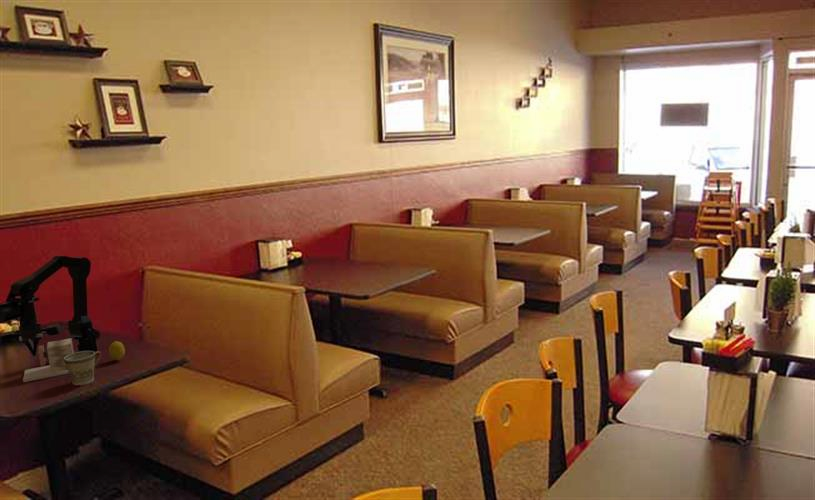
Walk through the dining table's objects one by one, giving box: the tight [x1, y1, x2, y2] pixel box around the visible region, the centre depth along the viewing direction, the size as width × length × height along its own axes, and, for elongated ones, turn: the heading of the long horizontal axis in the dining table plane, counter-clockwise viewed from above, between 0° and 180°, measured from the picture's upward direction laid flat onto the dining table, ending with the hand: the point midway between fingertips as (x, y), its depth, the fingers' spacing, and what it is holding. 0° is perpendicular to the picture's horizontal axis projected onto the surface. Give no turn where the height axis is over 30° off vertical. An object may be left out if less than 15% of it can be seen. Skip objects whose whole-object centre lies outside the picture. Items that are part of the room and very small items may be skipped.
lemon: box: [108, 340, 126, 362], centre depth 253 cm, size 6×6×8 cm
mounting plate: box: [22, 364, 69, 383], centre depth 245 cm, size 18×12×1 cm, turn 116°
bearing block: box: [46, 337, 75, 372], centre depth 246 cm, size 8×8×10 cm
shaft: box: [37, 344, 49, 367], centre depth 245 cm, size 10×6×6 cm, turn 116°
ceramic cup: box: [64, 350, 102, 387], centre depth 233 cm, size 13×10×10 cm
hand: (34, 355), depth 242 cm, fingers closed
